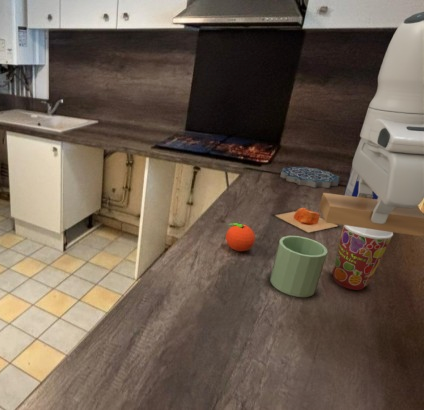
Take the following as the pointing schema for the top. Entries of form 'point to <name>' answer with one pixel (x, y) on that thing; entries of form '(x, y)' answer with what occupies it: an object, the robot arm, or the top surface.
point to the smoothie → (359, 255)
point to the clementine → (240, 237)
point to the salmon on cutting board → (306, 220)
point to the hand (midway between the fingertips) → (369, 212)
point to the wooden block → (360, 215)
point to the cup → (298, 265)
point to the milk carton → (354, 185)
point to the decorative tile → (310, 176)
